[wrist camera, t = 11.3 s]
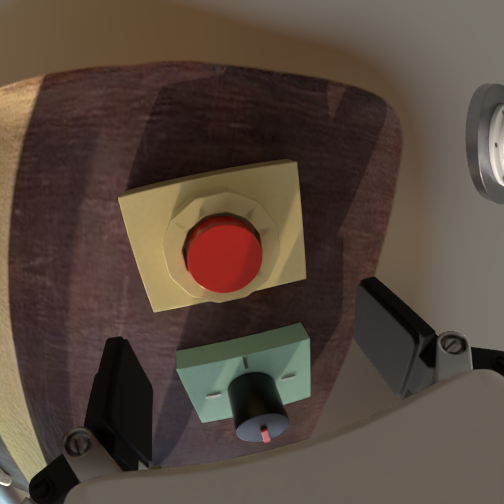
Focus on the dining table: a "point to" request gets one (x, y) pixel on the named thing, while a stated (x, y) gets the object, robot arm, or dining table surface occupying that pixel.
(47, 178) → the dining table surface
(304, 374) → the dial panel
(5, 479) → the garlic
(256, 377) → the knob
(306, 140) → the dining table surface
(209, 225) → the button
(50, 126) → the dining table surface
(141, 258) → the button block
